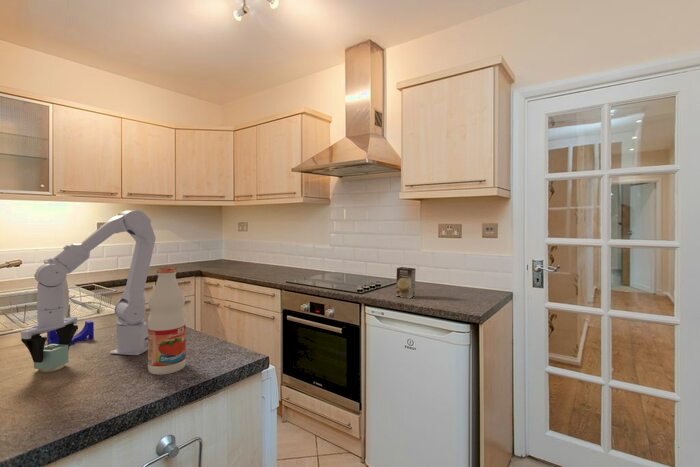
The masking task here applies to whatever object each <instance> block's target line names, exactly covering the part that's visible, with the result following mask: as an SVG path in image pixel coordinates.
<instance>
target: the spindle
mask: <svg viewBox="0 0 700 467" xmlns="http://www.w3.org/2000/svg"><path fill="white" fill-rule="evenodd" d="M55 348H56V347H55V346H49V347H48V348H47V350H53V349H55ZM65 365H66V364H64V365H61V366H59V367H57V368H54V369H52V370H46V369H37V370H38V372H39V373H51V372H55V371H56V372H57V371H59V370H62V369H63V368H64V367H66V366H65Z"/></svg>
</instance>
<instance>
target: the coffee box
mask: <svg viewBox="0 0 700 467" xmlns="http://www.w3.org/2000/svg"><path fill="white" fill-rule="evenodd" d="M416 270H417V269H416V268H415V267H413V268H412V267H406V266H405V267H404V266H401V267H396V287H395V289H396V290H395V291H396V292H395V297H396V296H403V297H410V298H411V297H413V296H416V273H417V272H416ZM413 298H414V297H413ZM411 299H412V298H411Z"/></svg>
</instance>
